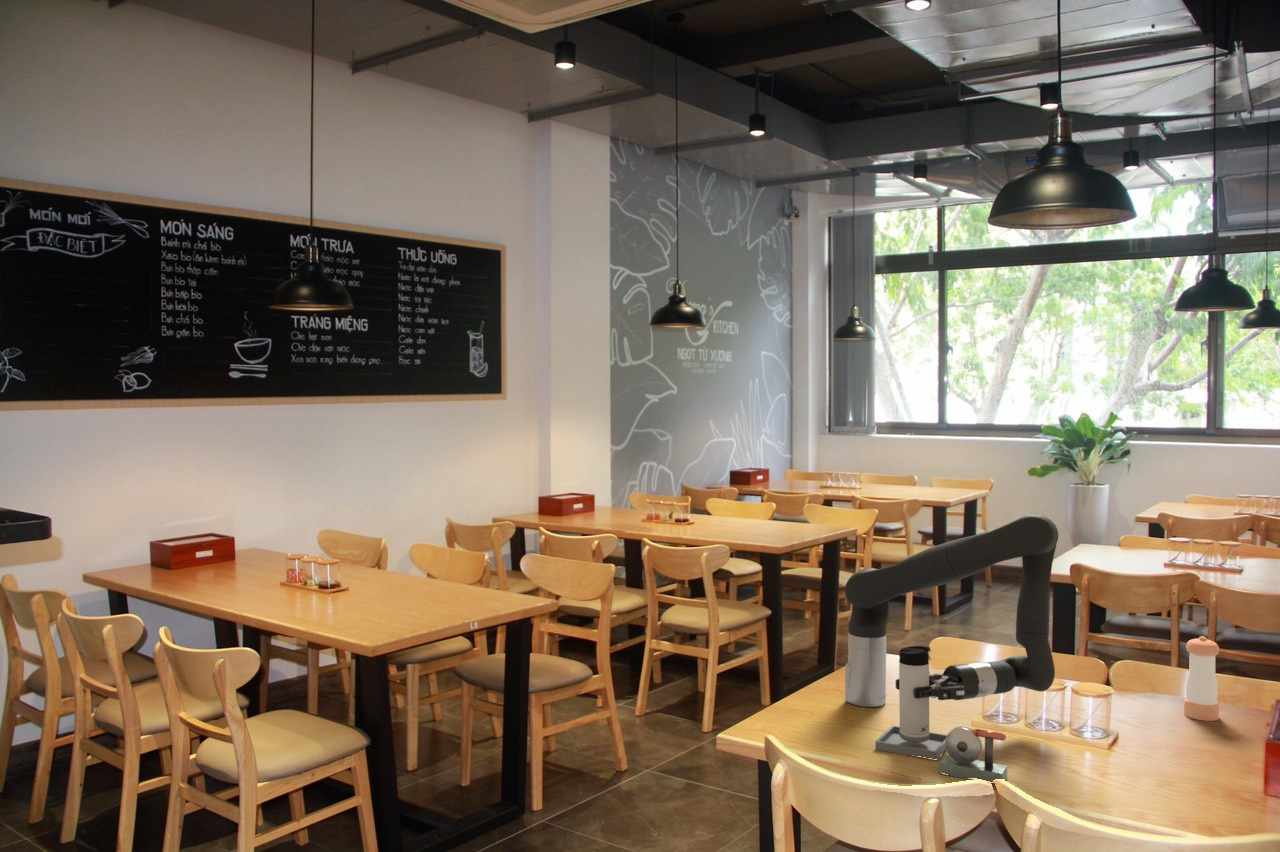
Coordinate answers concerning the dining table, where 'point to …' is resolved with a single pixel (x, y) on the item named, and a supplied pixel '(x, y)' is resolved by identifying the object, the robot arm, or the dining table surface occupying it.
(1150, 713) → the dining table surface
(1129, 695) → the dining table surface
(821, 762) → the dining table surface
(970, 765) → the crank stand
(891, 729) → the tray
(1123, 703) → the dining table surface
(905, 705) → the travel mug
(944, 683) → the robot arm
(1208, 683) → the salt shaker
